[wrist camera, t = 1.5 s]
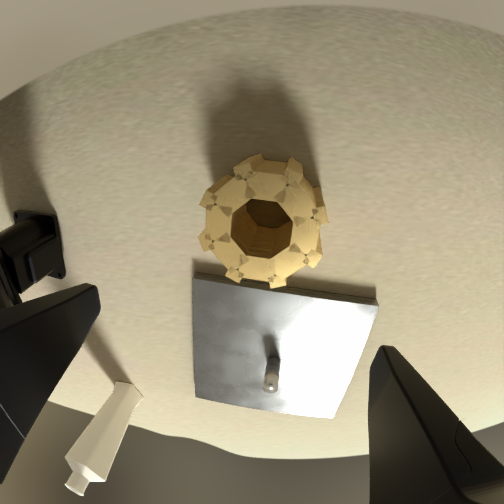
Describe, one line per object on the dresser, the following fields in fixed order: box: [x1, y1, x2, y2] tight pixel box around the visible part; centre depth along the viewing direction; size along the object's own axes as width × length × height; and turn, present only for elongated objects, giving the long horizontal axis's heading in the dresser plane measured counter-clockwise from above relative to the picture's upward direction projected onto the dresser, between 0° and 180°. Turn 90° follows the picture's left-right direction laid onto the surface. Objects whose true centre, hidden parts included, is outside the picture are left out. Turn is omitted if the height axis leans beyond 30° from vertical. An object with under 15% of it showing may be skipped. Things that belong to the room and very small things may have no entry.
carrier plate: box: [193, 272, 379, 418], centre depth 24 cm, size 14×14×4 cm
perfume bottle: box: [65, 381, 144, 496], centre depth 25 cm, size 5×4×15 cm
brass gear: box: [198, 154, 329, 288], centre depth 19 cm, size 7×7×5 cm
